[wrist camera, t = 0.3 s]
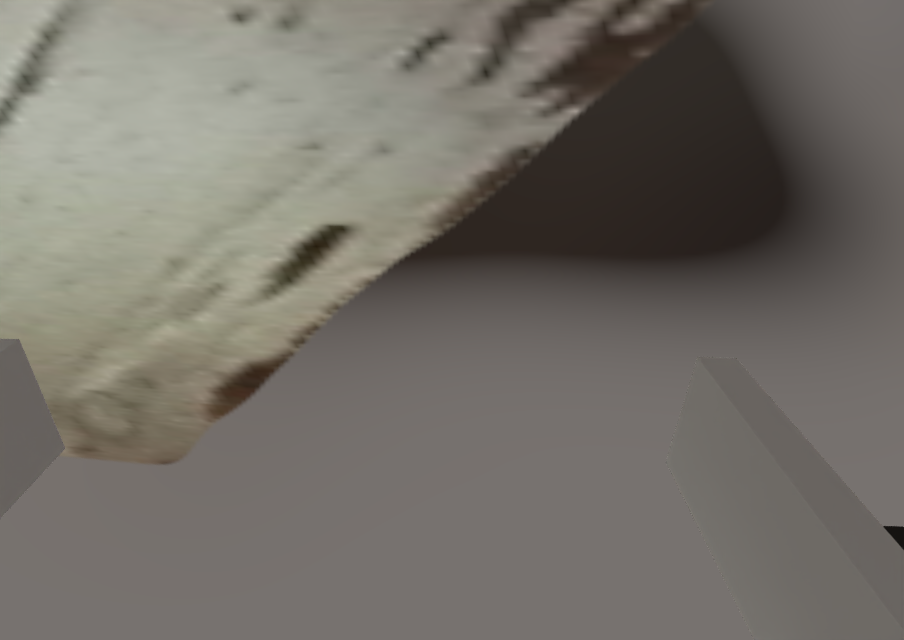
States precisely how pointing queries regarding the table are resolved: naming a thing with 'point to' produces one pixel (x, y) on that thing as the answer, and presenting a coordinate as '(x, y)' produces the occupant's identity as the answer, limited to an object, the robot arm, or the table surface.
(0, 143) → the table surface
